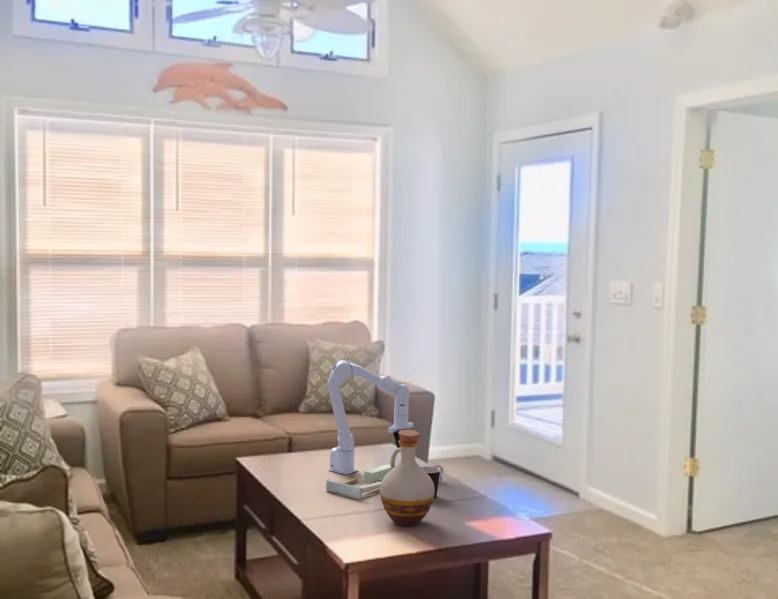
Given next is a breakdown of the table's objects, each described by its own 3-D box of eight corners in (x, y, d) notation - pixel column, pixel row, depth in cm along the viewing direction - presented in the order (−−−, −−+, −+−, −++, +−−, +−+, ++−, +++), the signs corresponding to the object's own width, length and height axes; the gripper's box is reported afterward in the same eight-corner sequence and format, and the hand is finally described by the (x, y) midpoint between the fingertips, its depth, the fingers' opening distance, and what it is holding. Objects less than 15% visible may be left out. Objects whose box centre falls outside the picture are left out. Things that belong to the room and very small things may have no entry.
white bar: (350, 494, 293) (350, 488, 293) (379, 487, 302) (379, 481, 302) (354, 496, 291) (354, 490, 291) (384, 489, 300) (384, 483, 300)
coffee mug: (444, 497, 292) (445, 469, 291) (429, 502, 286) (429, 474, 285) (420, 489, 300) (420, 463, 299) (404, 494, 294) (405, 467, 293)
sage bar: (364, 481, 310) (364, 471, 309) (386, 474, 321) (387, 464, 320) (372, 483, 307) (372, 473, 307) (394, 476, 318) (395, 466, 318)
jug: (366, 516, 269) (369, 427, 267) (412, 509, 278) (415, 422, 276) (396, 535, 252) (398, 440, 250) (444, 527, 260) (447, 435, 259)
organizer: (326, 491, 295) (326, 480, 295) (355, 481, 309) (355, 471, 308) (359, 499, 286) (359, 488, 286) (387, 489, 299) (387, 478, 299)
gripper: (398, 418, 315) (397, 453, 316) (419, 413, 326) (418, 446, 327) (384, 416, 319) (383, 449, 320) (405, 410, 330) (404, 443, 331)
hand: (400, 447), depth 324 cm, fingers closed
